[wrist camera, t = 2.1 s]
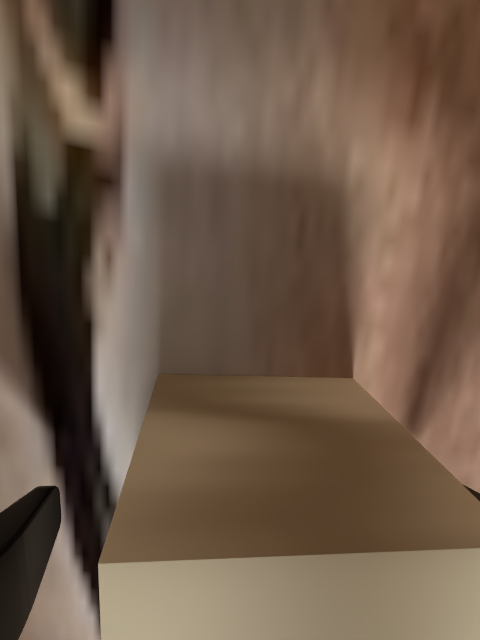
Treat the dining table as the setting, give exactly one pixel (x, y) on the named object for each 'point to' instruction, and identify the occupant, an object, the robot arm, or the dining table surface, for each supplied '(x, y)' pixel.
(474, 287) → the dining table surface
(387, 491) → the wood cube
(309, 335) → the dining table surface
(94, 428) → the dining table surface
